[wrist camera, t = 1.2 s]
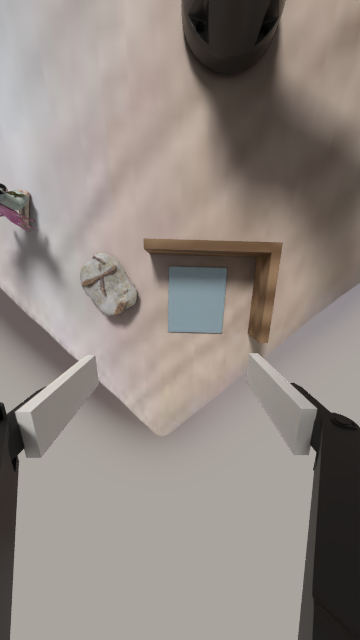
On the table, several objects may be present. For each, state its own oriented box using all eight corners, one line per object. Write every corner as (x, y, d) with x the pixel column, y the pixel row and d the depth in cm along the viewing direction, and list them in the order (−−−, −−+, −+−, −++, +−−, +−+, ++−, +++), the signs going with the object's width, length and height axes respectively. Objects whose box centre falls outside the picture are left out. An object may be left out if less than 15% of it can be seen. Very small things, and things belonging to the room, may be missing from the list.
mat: (169, 266, 36) (169, 266, 36) (226, 268, 37) (227, 268, 36) (168, 331, 40) (168, 331, 39) (221, 332, 40) (221, 333, 39)
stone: (75, 274, 36) (66, 273, 33) (110, 248, 36) (104, 244, 33) (112, 320, 38) (106, 323, 35) (145, 296, 38) (143, 297, 34)
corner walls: (149, 245, 36) (143, 238, 30) (265, 248, 36) (282, 242, 30) (150, 330, 40) (145, 339, 34) (254, 333, 40) (267, 342, 34)
